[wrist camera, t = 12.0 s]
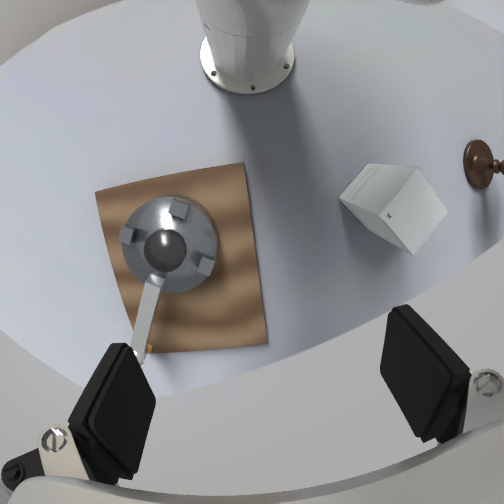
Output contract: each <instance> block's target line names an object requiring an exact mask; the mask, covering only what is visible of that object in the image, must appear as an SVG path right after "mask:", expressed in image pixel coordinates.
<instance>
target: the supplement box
mask: <svg viewBox="0 0 504 504" xmlns="http://www.w3.org/2000/svg"><path fill="white" fill-rule="evenodd" d="M338 199H339V200H340V201H341V202H342V203H343V204H344V205H345V206H346V207H347V208H348V209H349V210H350V211H351V212H352V213H353V214H354V215H355V216H356V217H357V218H358V219H359V220H360V221H361V223H362V224H363V225H364V226H365V227H366V228H367V229H368V230H369V231H371V232H373V233H375V234H377V235H378V236H380V237H382V238H383V239H385V240H387V241H389V242H390V243H392V244H393V245H395V246H397V247H399V248H400V249H402V250H404V251H405V252H407V253H409V254H410V255H412V256H415V255H416V253H417V252H418V251H419V250H420V248H421V247H422V246H423V245H424V243H425V242H426V241H427V240H428V238H429V237H430V236H431V234H432V233H433V232H434V231H435V229H436V228H437V227H438V225H439V224H440V223H441V221H442V220H443V219H444V217H445V216H446V215H447V213H448V211H447V210H446V208H445V206H444V205H443V203H442V202H441V200H440V199H439V197H438V196H437V194H436V193H435V191H434V190H433V188H432V186H431V185H430V183H429V182H428V180H427V179H426V177H425V176H424V175H423V173H422V172H421V170H420V169H419V167H414V166H401V165H387V164H367V165H366V166H365V168H364V169H363V170H362V171H361V172H360V173H359V174H358V176H357V177H356V178H355V179H354V180H353V181H352V183H351V184H350V185H349V186H348V187H347V188H346V190H345V191H344V192H343V193H342V194H341V195H340V197H339V198H338Z"/></svg>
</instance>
